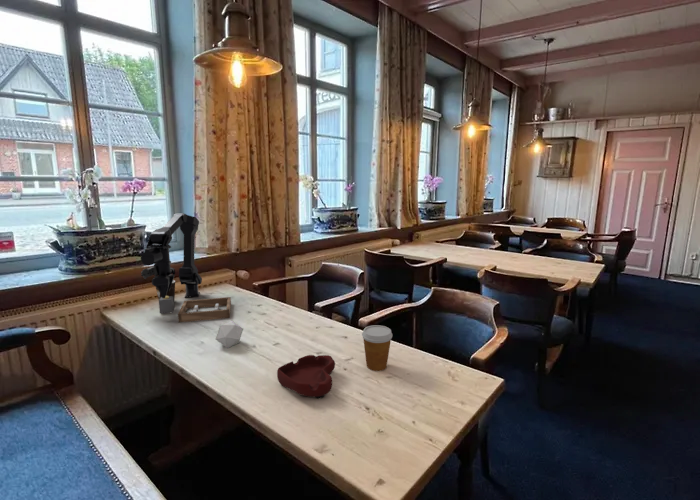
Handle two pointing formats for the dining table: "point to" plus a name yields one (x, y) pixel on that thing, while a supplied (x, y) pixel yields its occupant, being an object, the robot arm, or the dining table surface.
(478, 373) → the dining table surface
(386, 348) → the disposable coffee cup
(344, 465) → the dining table surface
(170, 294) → the coffee mug
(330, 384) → the ashtray
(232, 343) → the die
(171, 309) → the grey block
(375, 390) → the dining table surface
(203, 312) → the wooden serving tray
